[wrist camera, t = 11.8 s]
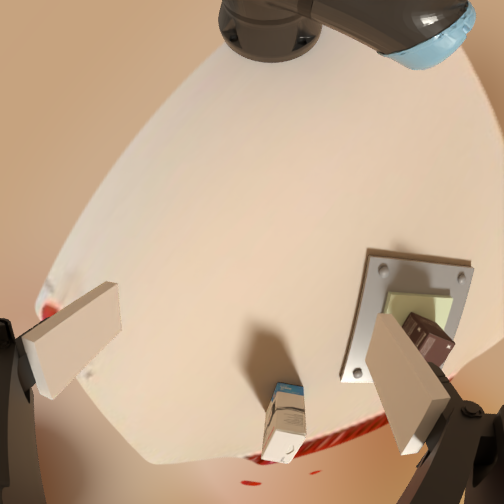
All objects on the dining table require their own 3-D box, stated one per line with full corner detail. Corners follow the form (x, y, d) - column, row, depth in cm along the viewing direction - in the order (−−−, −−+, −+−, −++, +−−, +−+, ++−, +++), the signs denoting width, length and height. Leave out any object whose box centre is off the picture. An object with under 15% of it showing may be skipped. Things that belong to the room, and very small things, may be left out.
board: (368, 255, 41) (372, 258, 39) (471, 266, 40) (478, 270, 37) (340, 378, 46) (342, 386, 44) (435, 376, 45) (439, 383, 43)
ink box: (277, 380, 47) (275, 429, 36) (304, 386, 47) (308, 434, 36) (264, 413, 50) (259, 460, 38) (289, 418, 49) (289, 465, 38)
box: (410, 310, 40) (430, 331, 33) (436, 321, 40) (456, 343, 33) (390, 342, 42) (405, 368, 34) (417, 352, 42) (433, 377, 34)
